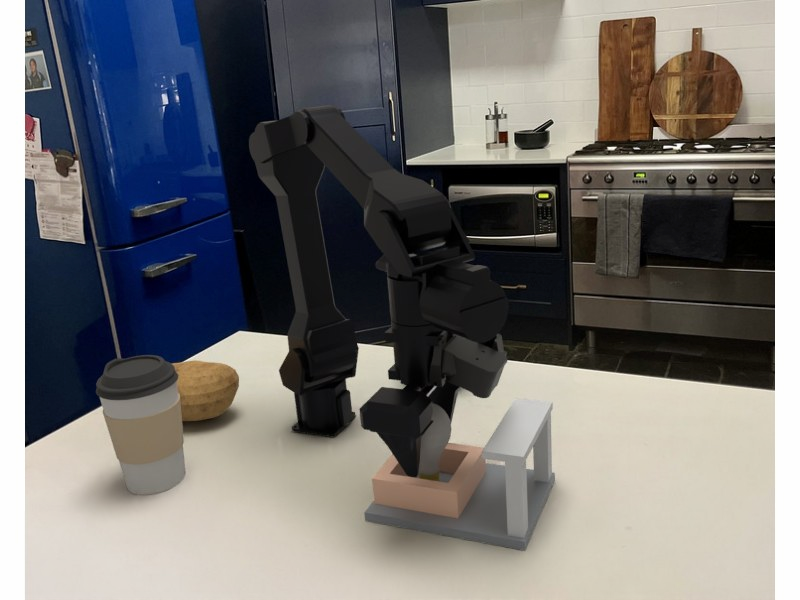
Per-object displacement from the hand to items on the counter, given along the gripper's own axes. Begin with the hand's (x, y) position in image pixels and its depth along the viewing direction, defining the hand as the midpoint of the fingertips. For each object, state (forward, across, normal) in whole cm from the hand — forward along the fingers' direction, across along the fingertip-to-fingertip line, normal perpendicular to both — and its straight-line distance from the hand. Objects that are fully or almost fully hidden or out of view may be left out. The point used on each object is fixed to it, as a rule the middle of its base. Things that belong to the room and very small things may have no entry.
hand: (429, 454), depth 82 cm
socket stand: (+5, 0, -3) cm, 6 cm away
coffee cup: (+5, -6, +33) cm, 34 cm away
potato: (+5, +9, +39) cm, 40 cm away
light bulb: (+4, 0, 0) cm, 4 cm away
